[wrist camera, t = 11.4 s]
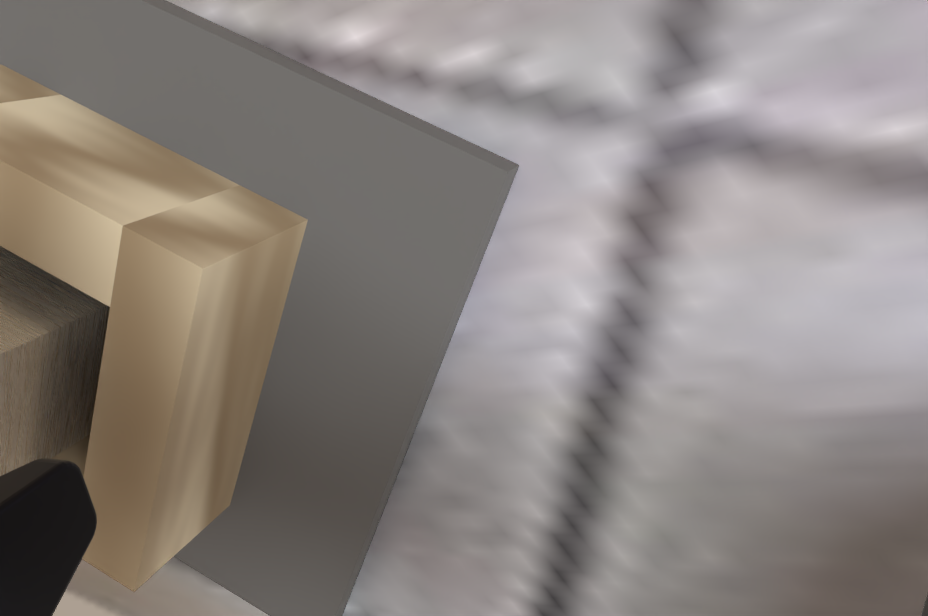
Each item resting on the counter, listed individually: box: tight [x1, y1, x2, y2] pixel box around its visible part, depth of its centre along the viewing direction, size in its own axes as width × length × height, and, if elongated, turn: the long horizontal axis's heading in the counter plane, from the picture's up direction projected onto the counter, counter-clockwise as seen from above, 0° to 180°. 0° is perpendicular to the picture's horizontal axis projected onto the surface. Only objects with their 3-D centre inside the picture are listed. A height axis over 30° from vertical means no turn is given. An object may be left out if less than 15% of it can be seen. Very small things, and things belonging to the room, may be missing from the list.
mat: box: [0, 0, 519, 616], centre depth 23 cm, size 18×16×1 cm
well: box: [0, 65, 308, 592], centre depth 21 cm, size 10×10×4 cm
